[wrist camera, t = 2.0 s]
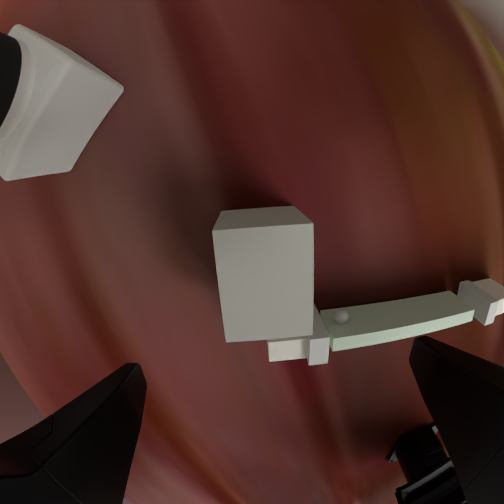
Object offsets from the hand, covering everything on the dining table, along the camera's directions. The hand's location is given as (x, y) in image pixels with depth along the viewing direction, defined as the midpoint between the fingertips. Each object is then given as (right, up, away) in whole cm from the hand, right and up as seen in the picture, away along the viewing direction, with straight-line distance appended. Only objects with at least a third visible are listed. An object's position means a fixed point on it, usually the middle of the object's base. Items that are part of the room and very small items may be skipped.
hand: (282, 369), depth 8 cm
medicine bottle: (-14, +14, +7) cm, 21 cm away
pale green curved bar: (+10, 0, +12) cm, 16 cm away
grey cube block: (0, +4, +11) cm, 12 cm away
